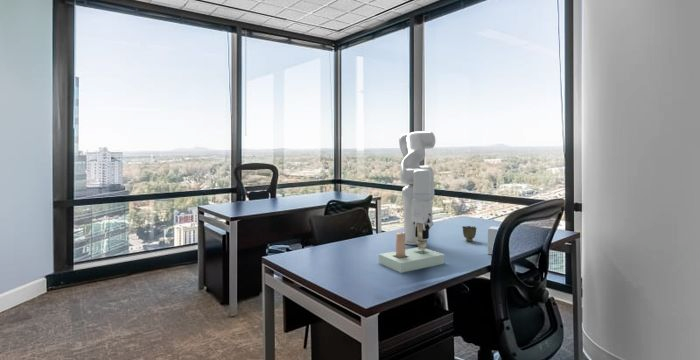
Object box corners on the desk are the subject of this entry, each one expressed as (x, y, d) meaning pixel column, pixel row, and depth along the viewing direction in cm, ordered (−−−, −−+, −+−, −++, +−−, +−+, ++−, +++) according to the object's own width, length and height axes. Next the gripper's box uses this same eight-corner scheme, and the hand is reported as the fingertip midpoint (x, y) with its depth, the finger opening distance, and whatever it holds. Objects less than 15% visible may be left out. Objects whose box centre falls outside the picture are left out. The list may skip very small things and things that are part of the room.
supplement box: (503, 256, 178) (503, 230, 177) (487, 254, 182) (487, 228, 181) (506, 252, 185) (506, 227, 184) (490, 250, 188) (490, 225, 187)
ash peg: (415, 248, 170) (415, 217, 169) (422, 247, 172) (422, 217, 171) (421, 250, 166) (421, 219, 165) (428, 249, 168) (428, 218, 167)
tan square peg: (394, 264, 164) (393, 233, 163) (401, 263, 166) (401, 232, 165) (399, 267, 161) (399, 235, 160) (407, 265, 163) (406, 233, 162)
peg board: (378, 265, 168) (378, 254, 167) (420, 257, 179) (420, 246, 179) (400, 275, 154) (400, 263, 153) (444, 265, 165) (444, 254, 165)
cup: (477, 242, 205) (477, 228, 204) (463, 242, 206) (463, 228, 205) (475, 239, 212) (475, 225, 211) (461, 239, 213) (461, 225, 213)
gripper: (403, 196, 173) (403, 235, 174) (428, 199, 158) (428, 242, 159) (416, 194, 176) (416, 233, 178) (441, 198, 162) (441, 240, 163)
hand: (422, 237), depth 169 cm, fingers closed on ash peg, 4 cm apart
